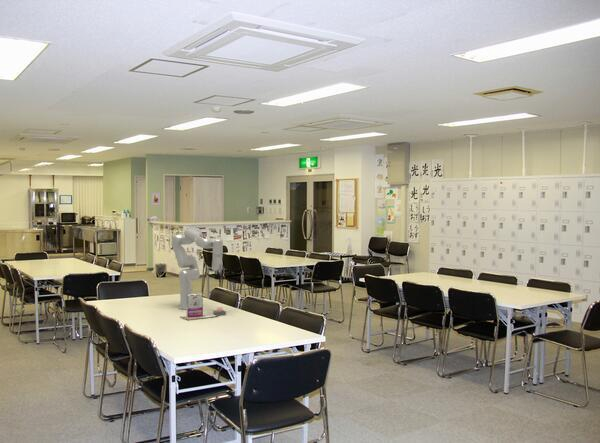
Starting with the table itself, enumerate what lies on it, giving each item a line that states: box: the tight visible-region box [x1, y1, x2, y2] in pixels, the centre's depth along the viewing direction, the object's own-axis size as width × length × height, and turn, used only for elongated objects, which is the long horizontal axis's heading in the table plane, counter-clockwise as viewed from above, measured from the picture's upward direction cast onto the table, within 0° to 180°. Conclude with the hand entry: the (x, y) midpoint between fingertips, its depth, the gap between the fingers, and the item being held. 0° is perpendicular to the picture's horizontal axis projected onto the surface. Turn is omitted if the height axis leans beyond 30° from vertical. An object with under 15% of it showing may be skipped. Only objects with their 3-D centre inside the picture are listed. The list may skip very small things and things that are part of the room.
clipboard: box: [179, 312, 219, 322], centre depth 410 cm, size 15×24×1 cm, turn 123°
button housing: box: [212, 309, 227, 317], centre depth 419 cm, size 7×7×3 cm
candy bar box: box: [186, 293, 204, 317], centre depth 408 cm, size 11×5×16 cm, turn 114°
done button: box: [216, 306, 223, 312], centre depth 419 cm, size 4×4×5 cm
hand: (217, 279), depth 423 cm, fingers closed
